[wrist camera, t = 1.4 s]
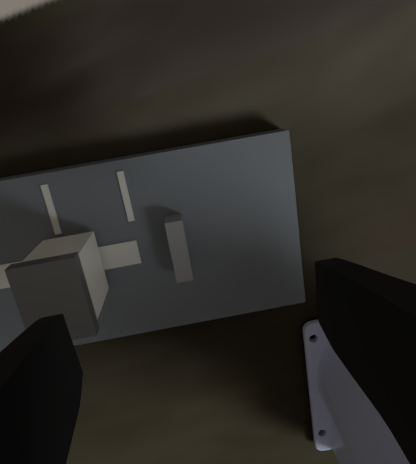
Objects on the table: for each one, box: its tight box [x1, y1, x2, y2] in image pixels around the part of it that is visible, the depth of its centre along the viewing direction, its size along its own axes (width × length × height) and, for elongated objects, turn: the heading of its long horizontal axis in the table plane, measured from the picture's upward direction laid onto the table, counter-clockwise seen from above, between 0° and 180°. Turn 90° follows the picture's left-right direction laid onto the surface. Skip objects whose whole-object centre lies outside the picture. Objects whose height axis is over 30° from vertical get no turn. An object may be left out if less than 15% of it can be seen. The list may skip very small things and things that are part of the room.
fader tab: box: [4, 231, 109, 340], centre depth 17 cm, size 3×3×4 cm
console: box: [0, 129, 306, 352], centre depth 19 cm, size 9×22×3 cm, turn 99°
